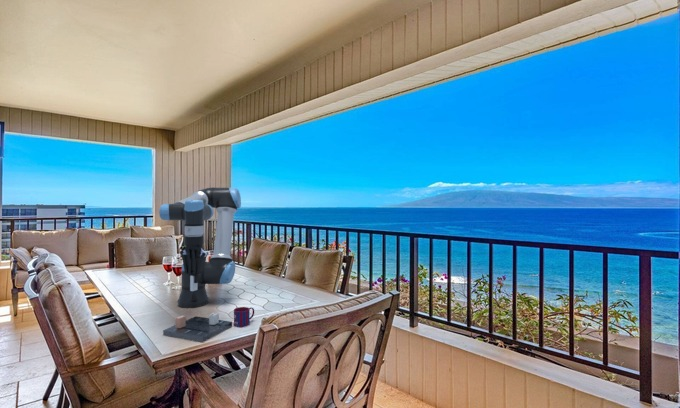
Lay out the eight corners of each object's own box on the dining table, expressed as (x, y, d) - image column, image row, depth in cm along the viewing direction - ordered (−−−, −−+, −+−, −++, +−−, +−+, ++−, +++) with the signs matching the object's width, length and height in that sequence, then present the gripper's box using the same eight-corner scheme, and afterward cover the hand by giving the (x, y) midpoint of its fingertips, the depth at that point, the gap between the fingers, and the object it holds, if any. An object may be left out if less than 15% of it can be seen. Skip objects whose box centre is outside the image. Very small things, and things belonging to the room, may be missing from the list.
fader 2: (209, 324, 144) (209, 314, 144) (214, 321, 146) (214, 312, 146) (213, 324, 143) (213, 315, 143) (218, 322, 146) (218, 313, 146)
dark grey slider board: (163, 335, 137) (163, 330, 137) (195, 320, 154) (195, 316, 154) (202, 342, 130) (202, 337, 130) (232, 326, 147) (232, 321, 147)
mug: (230, 324, 150) (231, 309, 150) (250, 319, 157) (251, 304, 157) (238, 328, 145) (238, 312, 145) (258, 322, 152) (258, 307, 152)
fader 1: (175, 327, 140) (175, 317, 139) (181, 325, 142) (181, 315, 142) (179, 328, 139) (180, 318, 139) (185, 325, 142) (185, 316, 142)
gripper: (175, 235, 143) (174, 291, 144) (200, 237, 139) (200, 293, 140) (187, 234, 150) (187, 286, 151) (212, 235, 147) (212, 289, 147)
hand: (193, 290), depth 145 cm, fingers closed
